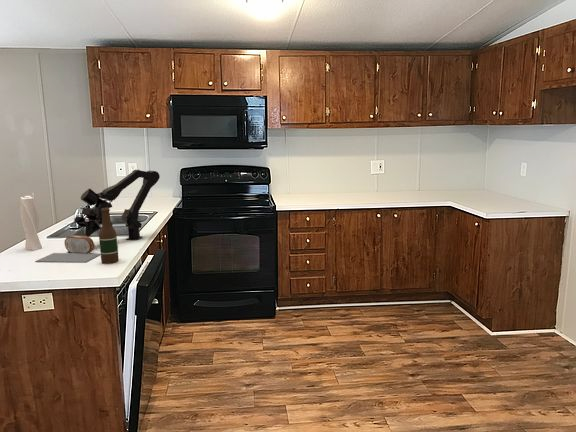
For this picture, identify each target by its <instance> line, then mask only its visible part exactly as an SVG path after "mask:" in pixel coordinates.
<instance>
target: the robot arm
mask: <svg viewBox="0 0 576 432" xmlns="http://www.w3.org/2000/svg"><path fill="white" fill-rule="evenodd" d="M160 177H161V175H160V173H159V172H158V171H157V170H146V171H144V170H140V169H133V171H132V172H130V173H129V174H127V175H126V176H125V177H124V178H122V179H121V180H119V181H118V182H116V184H113V185H112V186H109V187H106V188H105V189H103V190H102V191H101V192H96V191H94V190H92V188H88V189H87V190H86V191H84V192H83V193H82V194H81V196H80V201H83V202H84V203H85V204H87V205H89V206H91V207H92V206H93V207H92V208H91V207H82V212H81V215H84V216H85V217H86V218H85V217H84V216H75V218H74V219H73V221H74V223H75V224H77V225H78V226H79V227H81V228H85V235H84V236H88V237H90V236H91V235H93V234H94V233H96V232H97V231H100V229H101V227H102V211H101V209H102V208H109V209H111V208H113V205H112V203H111V202H112V201H116V199H117V198H118V197H119V195H120V194H121V193H122V191H124V190H125V189H126V188H127V187H129V186H130V185H132V184H133V183H134V182H135V181H137V180H138V179H140V178H142V185H141V186H140V189H139V190H138V192H137V194H136V196H135V199H134V200H133V203H132V204H131V207H130V208H128V209H126V208H125V209H124V211H123V213H122V214H121V222H122V223H123V224H124V225H125V226H126V227H127V230H128V231H127V233H128V237H126V238H125V239H126V240H127V241H128V240H130V241H133V240H140V239H141V238H143V236H142V235H140V234H141V232H140V229H141V228H142V225H143V224H142V223H141V222H140V221H139V217H140V216H139V213H140V210H141V208H142V206H143V204H144V203H145V200H146V199H147V197H148V194H149V192H150V191H151V189H152V188H153V187H154V186H155V185H156V184H157V183H158V181H159V180H160ZM108 201H110V202H108ZM111 225H112V226H113V222H112V221H111Z"/></svg>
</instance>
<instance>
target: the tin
mask: <svg viewBox="0 0 576 432" xmlns="http://www.w3.org/2000/svg"><path fill="white" fill-rule="evenodd" d="M64 247H65V249H66V250H67V252H68V253H92V252H93V251H94V250H95V242H94V240H93V239H92V238H91V237H90V236H89V237H88V236H85V235H78V234H77V235H75V234H71V235H70V236H68V237H66V238H65V239H64Z"/></svg>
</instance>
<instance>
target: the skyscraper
mask: <svg viewBox="0 0 576 432" xmlns="http://www.w3.org/2000/svg"><path fill="white" fill-rule="evenodd" d="M20 218H21V219H20V221H21V223H22V224H21V225H22V227H23V228H22V229H23V230H24V231H23V232H24V234H25V244H24V245H25V246H24V247H25V248H24V250H25V249H28V251H36V250H39V249H43V246H42V244H41V241H40V238H39V234H38V232H39V225H40V224H39V223H40V221H39V211H38V208H37V204H36V201H35V194H34V192H31V195H24V197H23V196H21V197H20Z"/></svg>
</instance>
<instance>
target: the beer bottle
mask: <svg viewBox="0 0 576 432" xmlns="http://www.w3.org/2000/svg"><path fill="white" fill-rule="evenodd" d="M110 209H111V208H102V209H101V211H102V225H101V229H99V232H98V239H99V241H98V242H99V250H100V251H99V252H100V253H101V255H100V261H101V264H102V265H103V264H104V265H106V264H107V265H110V264H116V263H118V262H119V259H120V258H119V247H118V238H117V231H116V229H115V228H114V226H113V225H111V222H112V221H111V214H110V211H111V210H110Z"/></svg>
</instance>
